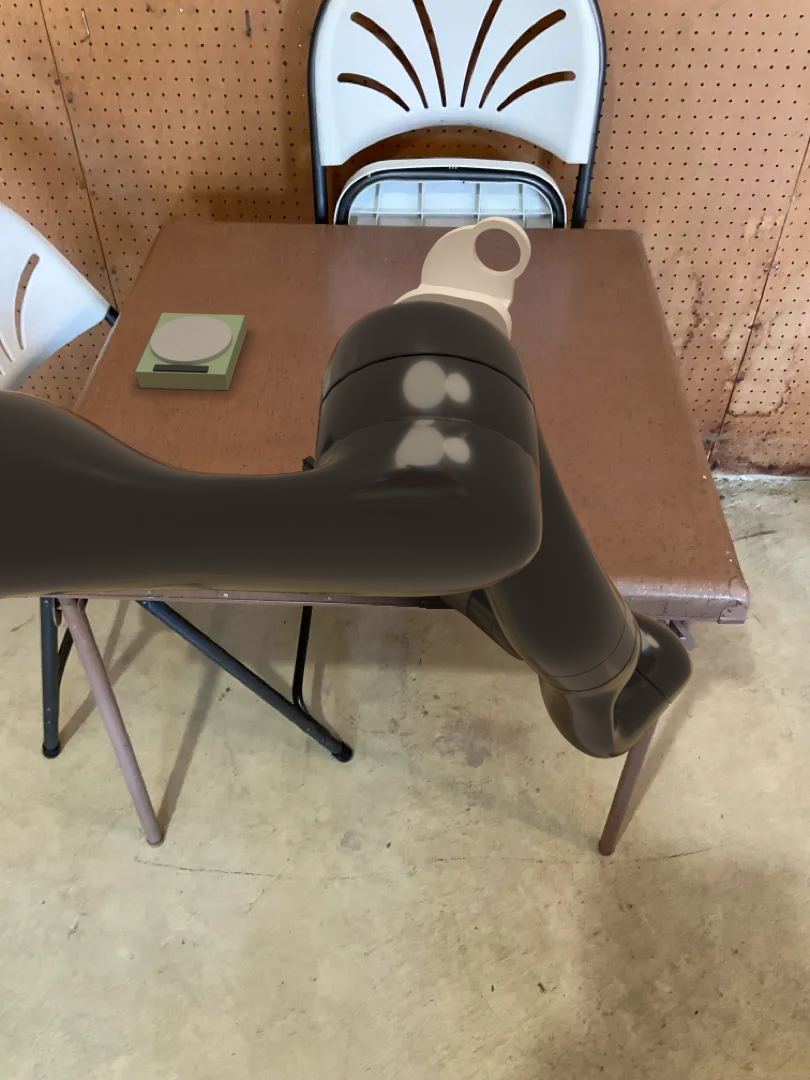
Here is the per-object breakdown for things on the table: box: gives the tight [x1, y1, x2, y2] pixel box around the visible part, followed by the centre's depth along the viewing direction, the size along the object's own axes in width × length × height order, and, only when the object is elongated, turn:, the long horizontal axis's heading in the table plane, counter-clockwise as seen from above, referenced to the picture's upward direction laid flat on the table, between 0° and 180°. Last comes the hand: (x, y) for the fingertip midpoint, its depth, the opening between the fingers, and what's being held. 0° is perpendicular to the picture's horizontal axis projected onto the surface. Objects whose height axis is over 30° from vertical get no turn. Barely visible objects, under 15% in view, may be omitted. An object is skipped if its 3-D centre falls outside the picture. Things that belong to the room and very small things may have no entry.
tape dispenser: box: [393, 216, 532, 340], centre depth 86 cm, size 14×13×18 cm
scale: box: [135, 312, 248, 391], centre depth 97 cm, size 12×10×3 cm
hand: (335, 450), depth 77 cm, fingers closed on light bulb, 6 cm apart
